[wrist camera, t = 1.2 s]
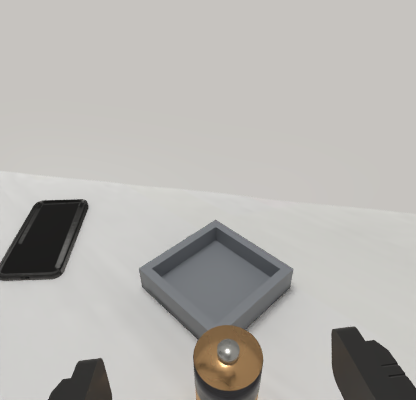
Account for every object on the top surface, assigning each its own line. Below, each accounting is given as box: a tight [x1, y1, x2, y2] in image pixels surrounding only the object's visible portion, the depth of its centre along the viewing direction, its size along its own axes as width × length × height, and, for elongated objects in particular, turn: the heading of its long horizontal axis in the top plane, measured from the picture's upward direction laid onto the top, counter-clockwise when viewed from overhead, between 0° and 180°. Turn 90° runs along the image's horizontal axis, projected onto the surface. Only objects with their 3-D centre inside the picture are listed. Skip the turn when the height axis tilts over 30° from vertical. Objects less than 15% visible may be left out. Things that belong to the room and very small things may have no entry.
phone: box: [0, 199, 88, 281], centre depth 49 cm, size 8×1×15 cm
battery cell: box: [193, 325, 263, 400], centre depth 26 cm, size 4×4×12 cm
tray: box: [139, 220, 293, 340], centre depth 41 cm, size 12×12×3 cm
